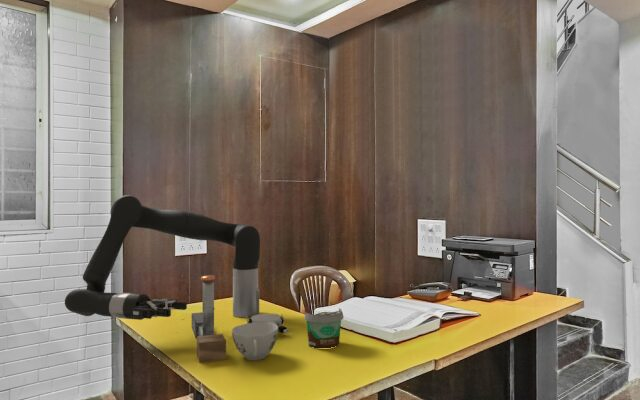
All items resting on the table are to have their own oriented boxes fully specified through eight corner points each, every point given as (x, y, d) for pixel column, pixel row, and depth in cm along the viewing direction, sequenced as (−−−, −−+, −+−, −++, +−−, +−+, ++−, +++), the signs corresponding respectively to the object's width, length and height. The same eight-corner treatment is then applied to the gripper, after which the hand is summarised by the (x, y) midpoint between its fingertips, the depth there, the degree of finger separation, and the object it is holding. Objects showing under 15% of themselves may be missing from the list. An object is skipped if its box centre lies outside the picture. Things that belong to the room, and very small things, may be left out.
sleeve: (191, 326, 154) (191, 313, 154) (205, 325, 156) (205, 312, 156) (195, 338, 142) (195, 323, 142) (210, 336, 143) (210, 321, 143)
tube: (195, 332, 145) (195, 268, 145) (208, 331, 146) (208, 268, 146) (203, 354, 124) (203, 280, 124) (218, 353, 126) (218, 279, 126)
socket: (196, 355, 126) (196, 336, 126) (222, 352, 129) (222, 333, 129) (199, 362, 121) (199, 342, 121) (226, 359, 123) (226, 340, 123)
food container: (313, 353, 128) (313, 317, 128) (304, 346, 134) (304, 312, 134) (351, 346, 134) (351, 312, 134) (340, 340, 139) (340, 307, 139)
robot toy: (291, 340, 143) (281, 324, 157) (291, 326, 142) (281, 311, 157) (251, 344, 139) (245, 327, 154) (251, 329, 139) (245, 313, 153)
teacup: (233, 350, 131) (233, 322, 131) (277, 348, 132) (277, 320, 132) (230, 370, 116) (230, 338, 116) (279, 367, 117) (279, 336, 117)
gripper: (113, 298, 130) (164, 301, 126) (144, 288, 144) (191, 291, 140) (113, 324, 130) (164, 329, 126) (144, 312, 144) (191, 316, 140)
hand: (178, 309), depth 133 cm, fingers open, 8 cm apart
